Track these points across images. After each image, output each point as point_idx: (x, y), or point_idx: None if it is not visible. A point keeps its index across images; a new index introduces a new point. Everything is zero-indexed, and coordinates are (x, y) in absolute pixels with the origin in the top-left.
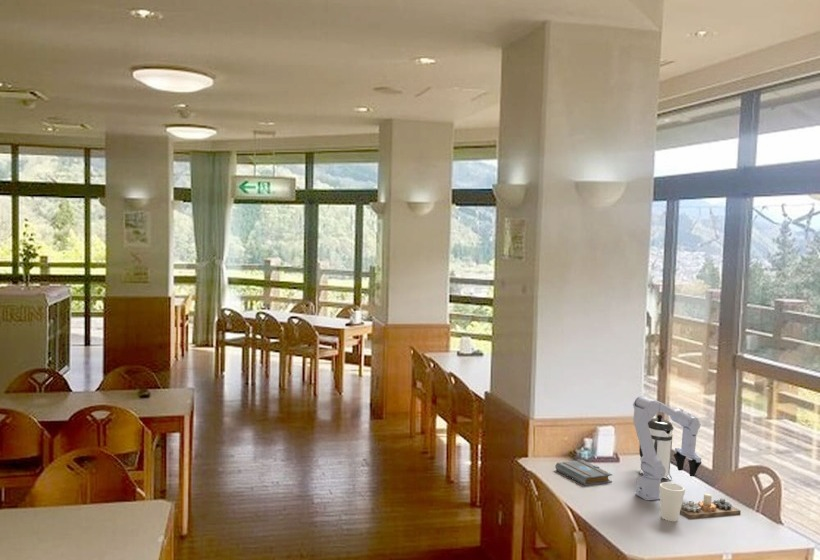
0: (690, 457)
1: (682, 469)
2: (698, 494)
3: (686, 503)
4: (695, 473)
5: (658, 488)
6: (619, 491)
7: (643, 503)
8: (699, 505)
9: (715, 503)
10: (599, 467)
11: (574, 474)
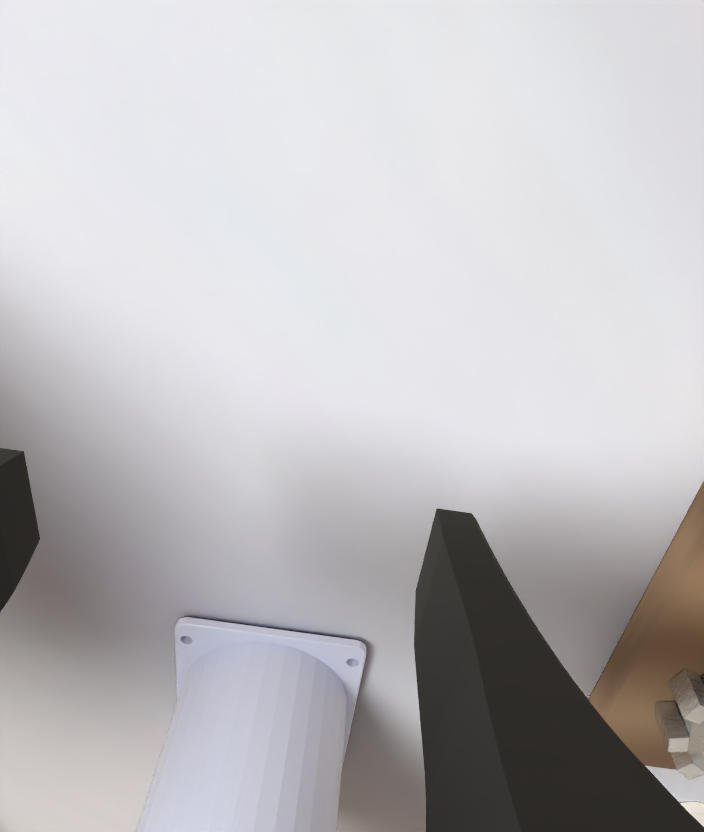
0: None
1: (11, 467)
2: (385, 90)
3: (700, 737)
4: (497, 563)
5: (337, 791)
6: (111, 781)
7: (379, 798)
8: None
9: None
10: None
11: None
